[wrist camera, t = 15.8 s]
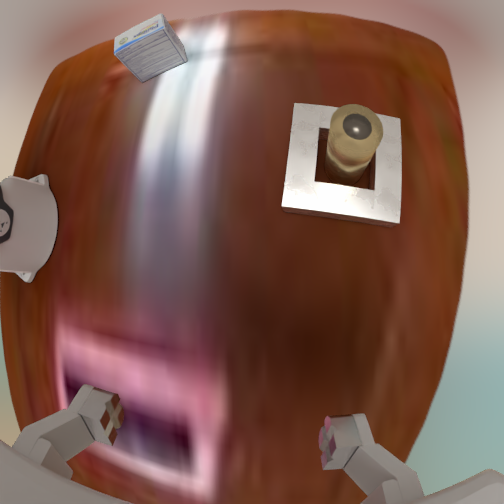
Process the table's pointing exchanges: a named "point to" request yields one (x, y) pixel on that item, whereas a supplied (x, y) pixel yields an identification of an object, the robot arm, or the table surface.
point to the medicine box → (150, 48)
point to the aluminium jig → (338, 196)
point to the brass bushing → (351, 143)
